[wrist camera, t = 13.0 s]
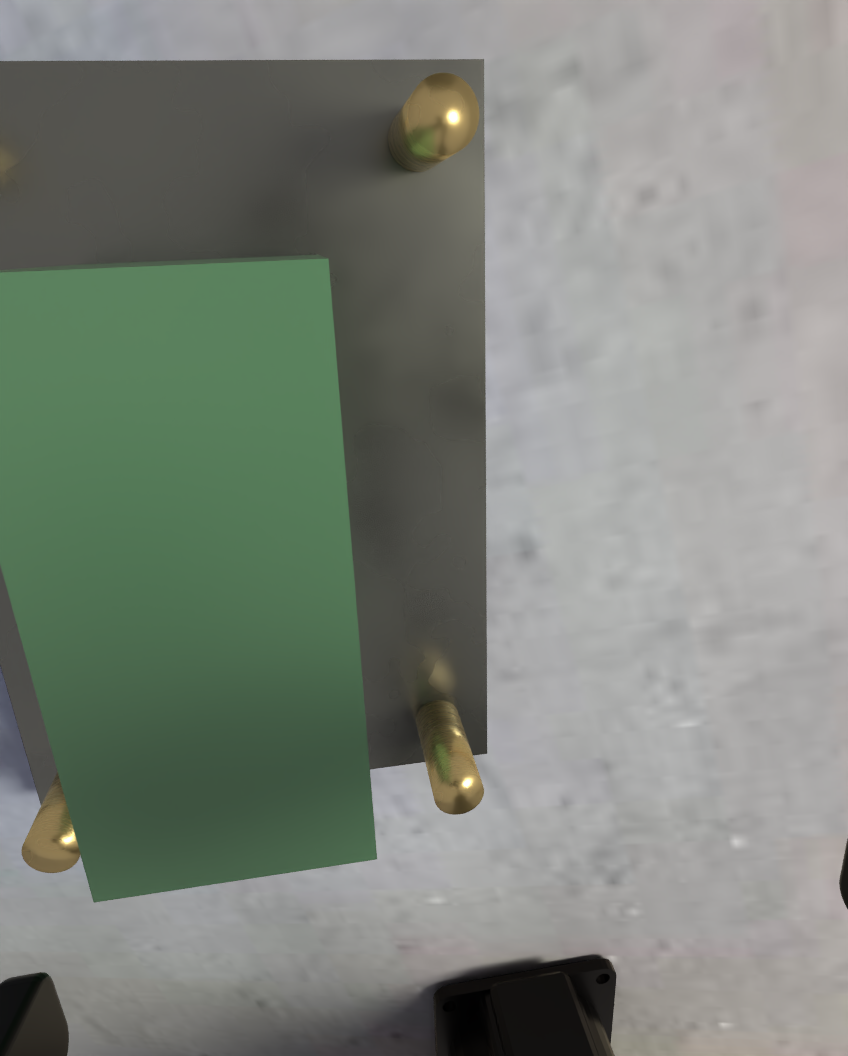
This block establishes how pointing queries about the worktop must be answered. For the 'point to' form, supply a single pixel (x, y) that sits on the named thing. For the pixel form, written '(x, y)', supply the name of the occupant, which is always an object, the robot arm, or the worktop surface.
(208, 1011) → the worktop surface
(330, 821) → the green rectangular block
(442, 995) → the robot arm
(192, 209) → the chassis plate
